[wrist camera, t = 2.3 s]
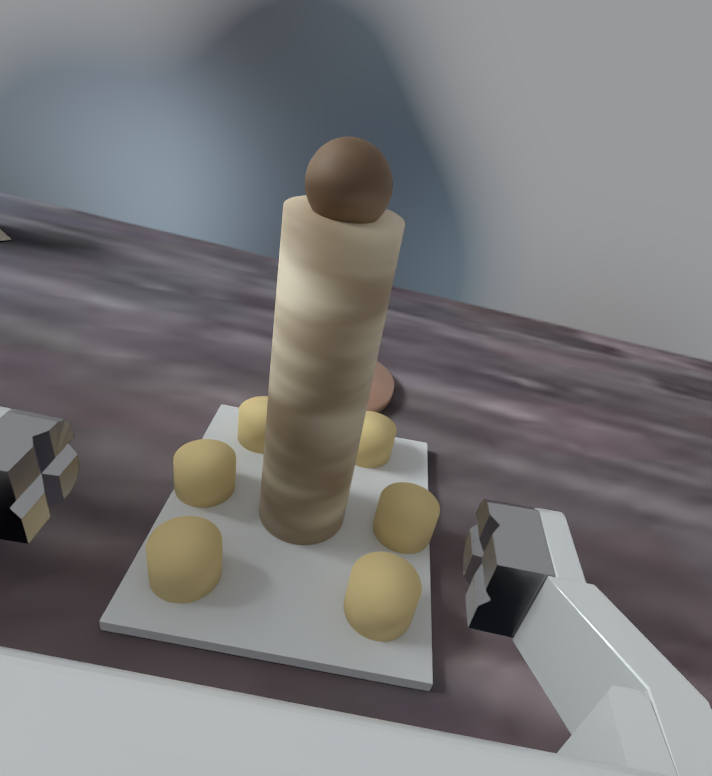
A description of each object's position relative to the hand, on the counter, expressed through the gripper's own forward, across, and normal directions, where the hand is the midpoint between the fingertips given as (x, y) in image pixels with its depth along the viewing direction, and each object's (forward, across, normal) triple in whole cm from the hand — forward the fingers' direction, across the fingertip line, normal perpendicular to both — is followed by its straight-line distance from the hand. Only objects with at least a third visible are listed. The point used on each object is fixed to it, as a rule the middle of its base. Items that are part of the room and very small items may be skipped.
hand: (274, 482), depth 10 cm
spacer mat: (+12, 0, -14) cm, 19 cm away
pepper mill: (+12, 0, -14) cm, 19 cm away
